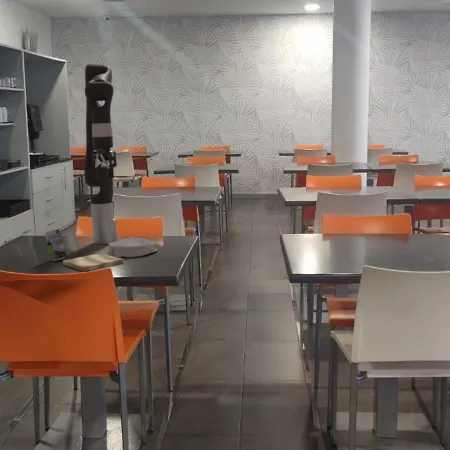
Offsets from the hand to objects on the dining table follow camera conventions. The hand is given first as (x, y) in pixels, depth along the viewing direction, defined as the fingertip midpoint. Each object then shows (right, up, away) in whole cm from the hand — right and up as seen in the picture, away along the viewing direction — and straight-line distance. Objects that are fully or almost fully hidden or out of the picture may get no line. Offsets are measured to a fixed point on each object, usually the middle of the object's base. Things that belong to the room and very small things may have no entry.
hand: (105, 177), depth 244 cm
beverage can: (-18, -32, -2) cm, 37 cm away
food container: (+9, -29, +7) cm, 32 cm away
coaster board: (-3, -32, -11) cm, 34 cm away
